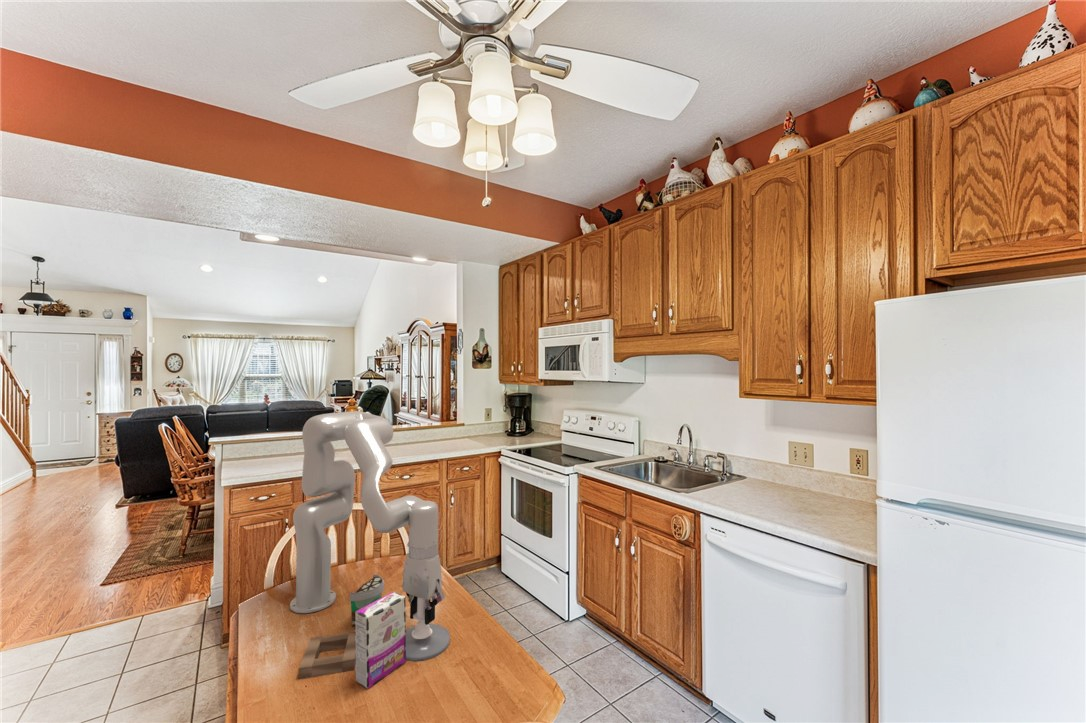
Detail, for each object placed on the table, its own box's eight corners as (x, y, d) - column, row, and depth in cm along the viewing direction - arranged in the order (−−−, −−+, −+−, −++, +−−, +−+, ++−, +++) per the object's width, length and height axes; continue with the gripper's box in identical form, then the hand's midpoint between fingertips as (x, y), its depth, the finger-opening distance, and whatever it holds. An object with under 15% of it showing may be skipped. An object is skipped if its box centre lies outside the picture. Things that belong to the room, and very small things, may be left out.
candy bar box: (392, 655, 112) (393, 590, 113) (406, 662, 110) (407, 595, 110) (353, 682, 103) (354, 610, 103) (367, 690, 100) (368, 617, 100)
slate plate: (395, 632, 122) (395, 628, 122) (447, 624, 126) (447, 620, 126) (393, 665, 109) (393, 660, 109) (451, 655, 112) (451, 650, 112)
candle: (408, 631, 118) (409, 586, 118) (427, 625, 121) (428, 580, 121) (415, 642, 114) (416, 594, 114) (435, 634, 117) (436, 588, 117)
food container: (368, 632, 122) (369, 595, 122) (348, 629, 123) (349, 593, 123) (392, 608, 134) (392, 575, 134) (374, 606, 135) (374, 573, 135)
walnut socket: (310, 647, 115) (310, 638, 115) (360, 640, 118) (360, 630, 119) (298, 679, 104) (299, 668, 104) (354, 669, 107) (354, 659, 107)
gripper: (389, 548, 118) (388, 617, 118) (437, 562, 110) (437, 636, 110) (410, 538, 125) (409, 604, 125) (457, 551, 117) (456, 621, 117)
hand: (422, 618), depth 117 cm, fingers closed on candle, 4 cm apart
